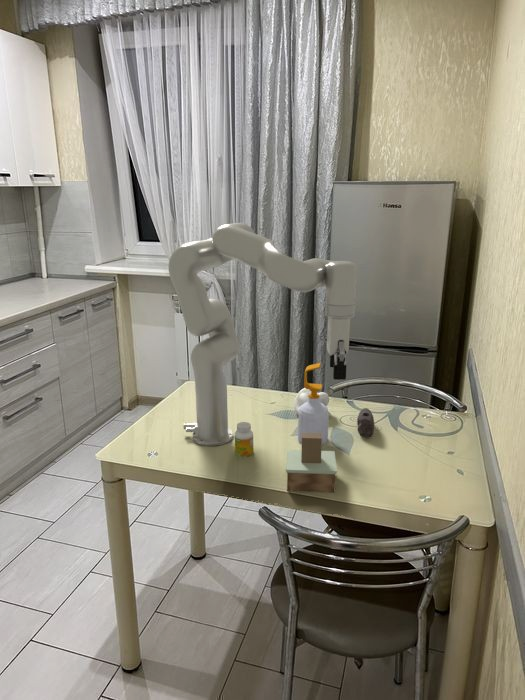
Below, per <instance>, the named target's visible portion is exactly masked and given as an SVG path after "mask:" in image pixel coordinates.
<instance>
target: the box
mask: <svg viewBox="0 0 525 700" xmlns="http://www.w3.org/2000/svg"><path fill="white" fill-rule="evenodd" d="M286 474H287V476H286V477H287V478H286V482H287V484H286V491H287V492H300V493H301V492H303V493H304V492H305V493H306V492H307V493H326V494H327V493H332V494H334V493H335V492H336V491H335V490H336V474H314V473H286Z"/></svg>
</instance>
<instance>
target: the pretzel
mask: <svg viewBox="0 0 525 700" xmlns="http://www.w3.org/2000/svg"><path fill="white" fill-rule="evenodd" d="M309 394H311V391H310V389H306V388H305V387H303V388H302V389H301V390H299V392H298V393H297V394H296V397H295V398H294V402H293V408H294V412H295V414H296V415H297V417H298V416H299V408H300V406H301V405H303V404H304V403H306V402H308V395H309ZM317 394H319V402H320V403H323V404H324V405H325V406H326V407H327V406H328V405H329V402H330V396H329V395H328V393H327V392H323V391H321V392H317Z"/></svg>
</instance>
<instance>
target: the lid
mask: <svg viewBox="0 0 525 700" xmlns="http://www.w3.org/2000/svg"><path fill="white" fill-rule="evenodd" d="M322 446H323V445H322V435H321V433H302V443H301V449H287V450H286V466H285V467H286V468H285V473H286V474H287V473H314V474H335V475H338V474H337V473H338V469H337V460H336V453H335V450H322Z"/></svg>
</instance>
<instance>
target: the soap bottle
mask: <svg viewBox="0 0 525 700" xmlns="http://www.w3.org/2000/svg"><path fill="white" fill-rule="evenodd" d="M320 368H321V362H318V363H313V364H310V365H308V366H306V368H305V370H304V374H303V375H304V376H303V388H306V389H310V391H311V394H309V395H308V402H306V403H304V404H303V405H301V406H300V408H299V416H298V415H297V417H298V420H297V421H298V423H297V424H298V425H297V426H298V430H297V431H298V432H297V436H298V437H297V439H298V442H299V443H301V444H302V433H321V435H322V446H324V445H325V444H327V442H328V441H329V416H330V415H329V414H330V413H329V412H330V411H329V409H328V407H327V406H325V405H324V404H323V403H320V402H319V394H317V393H318V392H319V391H321V390H322V389H323V388H322V387H323V384H321V383H309V382H308V372H310V371H313V370H318V369H320Z"/></svg>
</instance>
